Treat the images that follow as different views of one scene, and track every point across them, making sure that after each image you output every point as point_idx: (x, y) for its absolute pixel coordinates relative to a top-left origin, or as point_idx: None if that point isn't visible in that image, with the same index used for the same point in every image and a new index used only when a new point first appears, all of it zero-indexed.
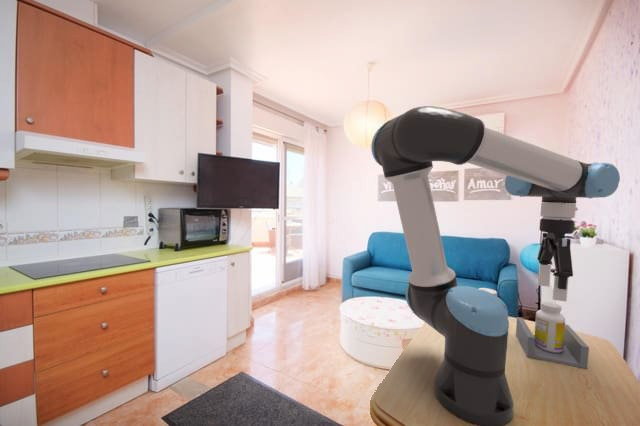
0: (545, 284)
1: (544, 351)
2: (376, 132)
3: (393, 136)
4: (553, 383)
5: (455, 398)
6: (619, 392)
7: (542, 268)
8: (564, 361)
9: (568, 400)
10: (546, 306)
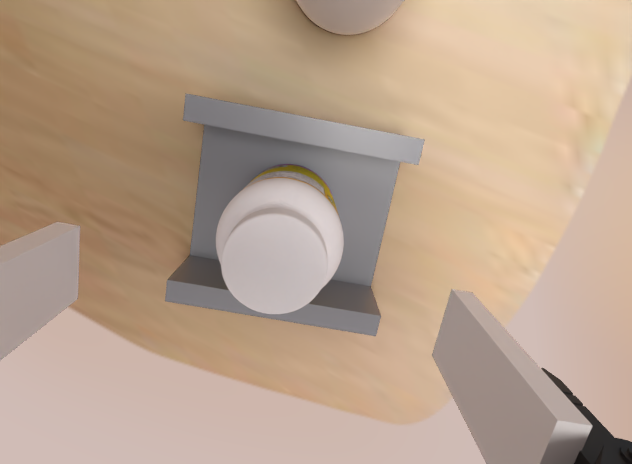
0: (443, 339)
1: (251, 177)
2: None
3: None
4: (53, 112)
5: None
6: (81, 285)
7: (520, 409)
8: (195, 214)
9: None
10: (239, 225)
